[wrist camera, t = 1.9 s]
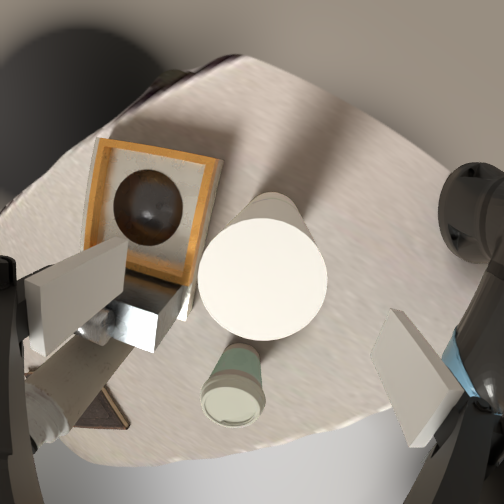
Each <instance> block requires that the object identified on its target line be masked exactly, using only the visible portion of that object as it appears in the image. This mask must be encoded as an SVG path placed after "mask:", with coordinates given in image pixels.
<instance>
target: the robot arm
mask: <svg viewBox="0 0 504 504" xmlns="http://www.w3.org/2000/svg"><path fill="white" fill-rule="evenodd" d="M438 220H439V227H440V231H441V234H442V237H443V239H444V241H445V243H446V245H447V246H448V248H449V249H450V250H451V251H452V252H453V253H454V254H455V255H456V256H458V257H460V258H462V259H464V260H465V261H468V262H471V263H475V264H483V263H489V264H488V267H487V269H486V271H485V273H484V275H483V277H482V280H481V282H480V284H479V286H478V288H477V290H476V292H475V294H474V296H473V298H472V300H471V302H470V304H469V306H468V308H467V310H466V312H465V314H464V316H463V317H462V319H461V321H460V323H459V324H458V325H457V326H456V327H455V329H454V331H453V335H452V337H451V339H450V341H449V343H448V345H447V347H446V349H445V350H444V353H443V355H442V359H441V358H440V357H439V356H438V354H437V353H436V352H435V351H434V349H433V348H432V347H431V345H430V344H429V343H428V342H427V340H426V339H425V338H424V336H423V335H422V334H421V333H420V331H419V330H418V329H417V328H416V326H415V325H414V324H413V323H412V322H411V320H410V319H409V318H408V317H407V315H406V314H405V313H404V312H403V311H400V310H396V309H391V308H390V311H389V313H388V315H387V318H386V320H385V323H384V325H383V327H382V329H381V332H380V334H379V336H378V338H377V341H376V343H375V345H374V347H373V349H372V351H371V354H370V356H371V359H372V361H373V363H374V365H375V368H376V370H377V372H378V374H379V377H380V379H381V381H382V383H383V386H384V388H385V390H386V393H387V395H388V397H389V400H390V402H391V405H392V407H393V409H394V412H395V414H396V417H397V419H398V421H399V424H400V426H401V429H402V431H403V433H404V436H405V439H406V441H407V444H408V447H425V446H426V445H427V443H428V442H429V441H430V439H431V438H432V437H433V436H434V437H435V439H436V441H437V443H436V444H435V445H434V447H433V448H432V449H431V450H430V451H429V453H428V454H427V455H426V456H425V457H424V459H423V460H422V461H421V463H424V462H425V463H424V465H423V468H422V469H421V471H420V473H419V475H418V477H417V479H416V481H415V483H414V485H413V487H412V489H411V490H410V492H409V494H408V495H407V497H406V499H405V501H404V503H403V504H504V460H503V461H502V462H501V464H500V465H499V461H500V460H501V458H502V457H503V456H504V172H503V171H501V170H499V169H498V168H496V167H495V166H493V165H490V164H487V163H478V162H476V163H467V164H464V165H462V166H460V167H458V168H457V169H456V170H455V171H454V172H453V173H452V174H451V175H450V176H449V178H448V179H447V181H446V183H445V185H444V187H443V189H442V192H441V195H440V200H439V206H438ZM128 241H129V240H126V239H122V238H119V237H113V238H111V239H109V240H106V241H104V242H102V243H100V244H97V245H95V246H93V247H91V248H89V249H86V250H84V251H82V252H80V253H78V254H76V255H73V256H71V257H69V258H67V259H65V260H63V261H61V262H59V263H57V264H53V265H48V266H46V267H44V268H42V269H39V271H38V270H37V271H35V272H33V274H32V273H31V274H29V275H27V276H25V277H23V278H21V279H19V280H17V279H16V261H15V260H14V259H13V258H11V257H8V256H2V255H0V504H44V501H43V497H42V494H41V490H40V486H39V482H38V477H37V473H36V468H35V463H34V458H33V452H32V447H31V440H30V434H29V426H28V418H27V408H26V397H25V380H24V346H23V340H24V339H25V338H26V337H28V336H29V339H30V346H31V349H32V350H34V351H35V352H37V353H39V354H41V355H43V356H44V357H47V356H48V355H49V354H50V353H51V352H53V351H54V350H55V349H56V348H57V347H58V346H59V345H60V344H62V343H63V342H64V341H65V340H66V339H67V338H68V337H70V336H71V335H72V334H73V333H74V332H75V331H77V330H78V329H79V328H80V327H81V326H82V325H84V324H85V323H86V322H87V321H88V320H89V319H91V318H92V317H93V316H94V315H95V314H96V313H98V312H99V311H100V310H101V309H102V308H104V307H105V306H106V305H107V304H108V303H110V302H111V301H112V300H113V299H114V298H116V297H117V296H118V295H119V294H121V293H122V292H123V285H124V275H125V266H126V257H127V249H128ZM492 274H493V275H492ZM502 414H503V416H501V415H502Z"/></svg>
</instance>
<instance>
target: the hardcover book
mask: <svg viewBox="0 0 504 504" xmlns="http://www.w3.org/2000/svg"><path fill="white" fill-rule="evenodd" d="M34 372H35V371H32V372H28V373H24V375H25V377H26V379H27V378H28V377H29V376H30V375H31V374H32V373H34ZM129 426H130V425H128V423H127V422H126V421H125V419H124V418H123V416H122V415H121V413H120V411H119V410H118V408H117V407H116V405H115V404H114V402H113V401H112V399H111V397H110V396H109V394H108V392H107V391H106V389H105V387H103V388H102V389H101V390H100V392H99V393H98V394H97V396H96V397H95V398H94V400H93V401H92V402H91V404H90V405H89V406H88V407H87V409H86V410H85V411H84V413H83V414H82V415H81V417H80V418H79V419H78V421H77V422H76V423H75V425H74V426H73V427H79V428H94V429H121V430H127V429H128V428H129Z"/></svg>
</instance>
